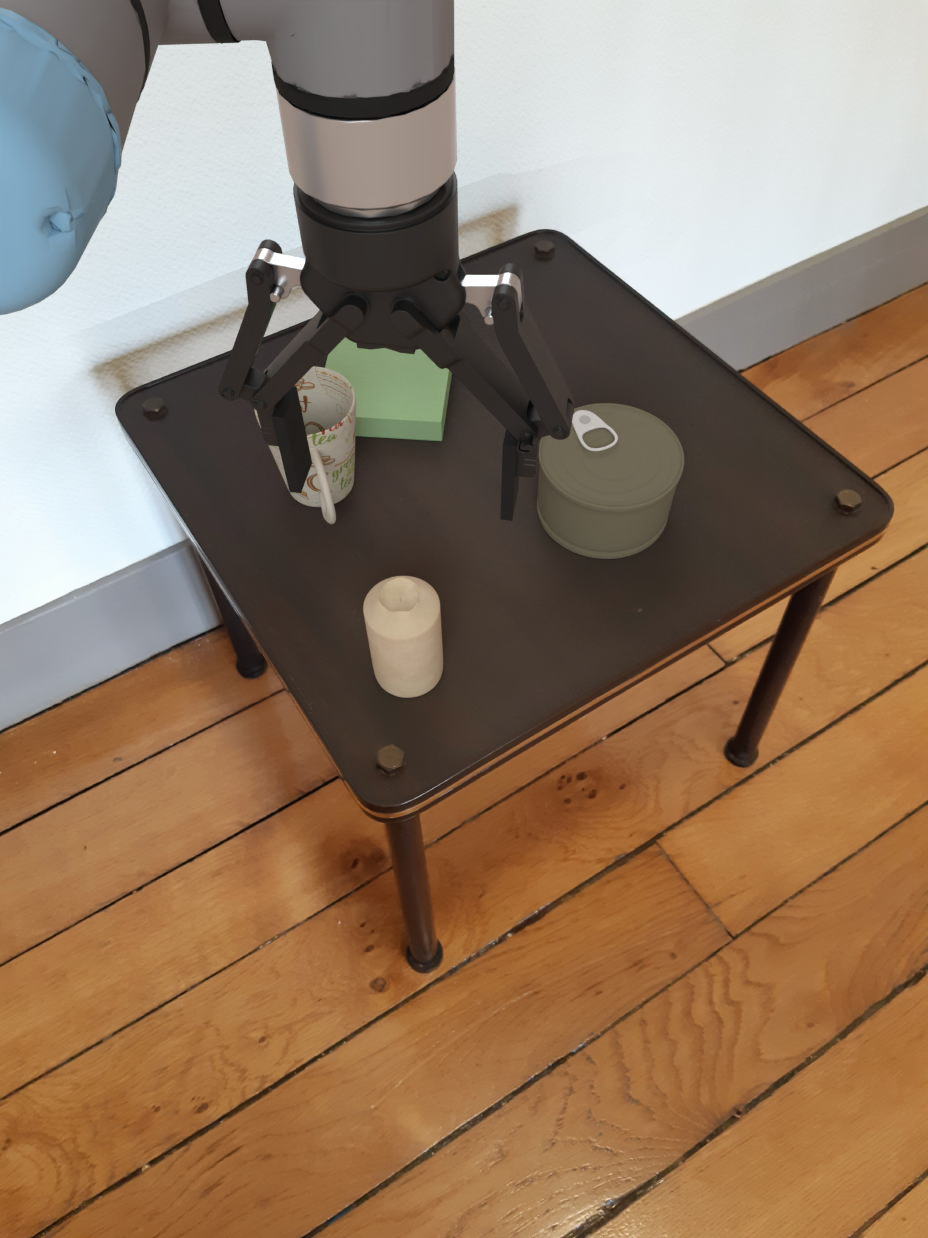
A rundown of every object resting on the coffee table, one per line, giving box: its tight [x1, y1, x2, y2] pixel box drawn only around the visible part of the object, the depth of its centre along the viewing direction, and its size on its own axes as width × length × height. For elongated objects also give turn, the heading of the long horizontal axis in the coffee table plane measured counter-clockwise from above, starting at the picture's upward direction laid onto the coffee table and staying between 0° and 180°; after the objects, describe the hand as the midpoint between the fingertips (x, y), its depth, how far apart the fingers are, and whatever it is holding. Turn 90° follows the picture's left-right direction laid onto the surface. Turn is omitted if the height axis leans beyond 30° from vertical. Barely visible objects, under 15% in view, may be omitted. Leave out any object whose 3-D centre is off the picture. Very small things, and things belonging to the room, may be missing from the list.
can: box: [536, 402, 685, 560], centre depth 81 cm, size 12×12×7 cm
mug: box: [253, 365, 356, 525], centre depth 80 cm, size 8×13×10 cm, turn 18°
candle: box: [362, 575, 444, 699], centre depth 70 cm, size 6×6×10 cm
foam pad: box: [324, 337, 453, 442], centre depth 91 cm, size 12×12×2 cm
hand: (404, 490), depth 60 cm, fingers open, 13 cm apart
